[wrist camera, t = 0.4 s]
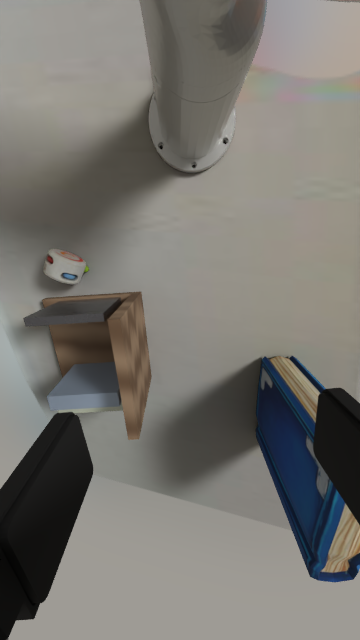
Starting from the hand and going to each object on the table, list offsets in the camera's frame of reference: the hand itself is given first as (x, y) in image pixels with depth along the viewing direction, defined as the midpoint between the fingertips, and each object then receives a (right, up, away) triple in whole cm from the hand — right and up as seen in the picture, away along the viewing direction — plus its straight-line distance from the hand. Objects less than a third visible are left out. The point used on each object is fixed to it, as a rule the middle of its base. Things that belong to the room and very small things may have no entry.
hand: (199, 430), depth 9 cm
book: (+19, -13, +41) cm, 47 cm away
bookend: (-17, +7, +32) cm, 37 cm away
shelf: (-17, 0, +36) cm, 40 cm away
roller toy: (-20, +14, +32) cm, 40 cm away
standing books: (-16, -6, +37) cm, 40 cm away
